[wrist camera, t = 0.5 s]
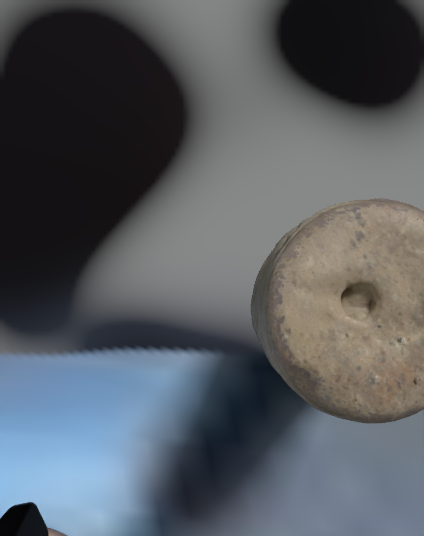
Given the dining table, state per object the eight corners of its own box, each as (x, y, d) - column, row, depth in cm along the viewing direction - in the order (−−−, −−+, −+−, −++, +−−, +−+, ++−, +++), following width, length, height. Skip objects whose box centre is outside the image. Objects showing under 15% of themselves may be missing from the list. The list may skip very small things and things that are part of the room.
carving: (249, 372, 22) (255, 444, 11) (250, 238, 23) (256, 163, 11) (367, 376, 22) (513, 455, 10) (364, 238, 23) (497, 160, 11)
